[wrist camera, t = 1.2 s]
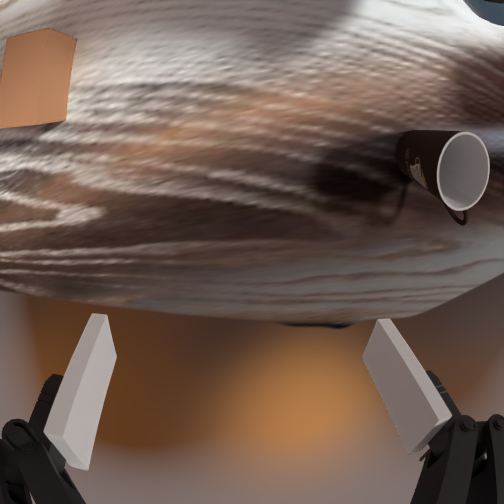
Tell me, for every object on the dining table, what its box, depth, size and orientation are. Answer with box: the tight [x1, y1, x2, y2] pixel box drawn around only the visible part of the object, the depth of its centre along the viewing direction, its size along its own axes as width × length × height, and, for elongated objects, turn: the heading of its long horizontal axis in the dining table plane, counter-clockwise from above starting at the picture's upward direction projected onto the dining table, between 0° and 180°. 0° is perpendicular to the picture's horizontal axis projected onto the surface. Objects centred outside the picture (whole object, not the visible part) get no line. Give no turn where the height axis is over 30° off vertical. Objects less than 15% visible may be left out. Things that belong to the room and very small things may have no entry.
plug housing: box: [0, 28, 77, 129], centre depth 23 cm, size 10×6×7 cm, turn 172°
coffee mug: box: [396, 130, 490, 225], centre depth 31 cm, size 12×9×10 cm
